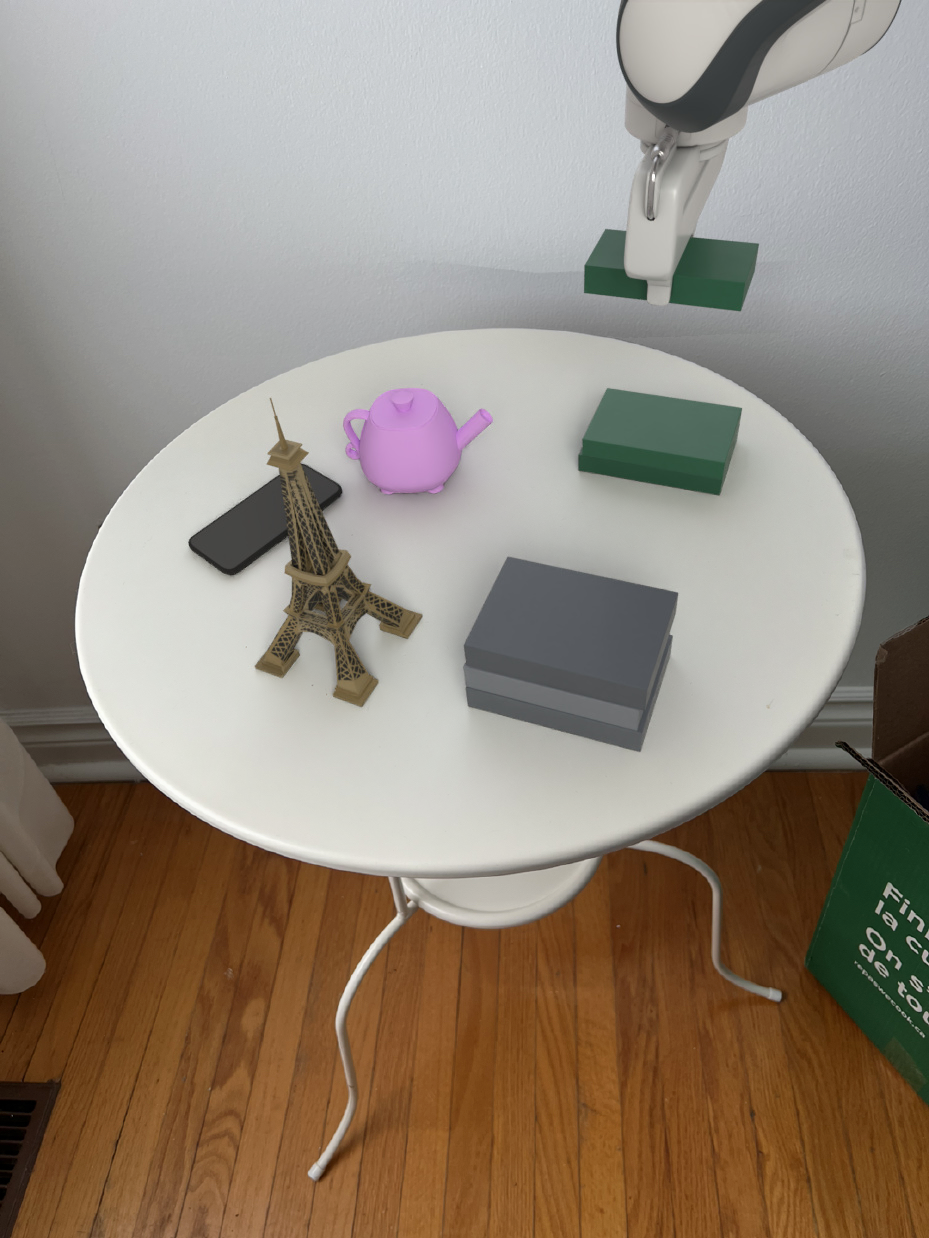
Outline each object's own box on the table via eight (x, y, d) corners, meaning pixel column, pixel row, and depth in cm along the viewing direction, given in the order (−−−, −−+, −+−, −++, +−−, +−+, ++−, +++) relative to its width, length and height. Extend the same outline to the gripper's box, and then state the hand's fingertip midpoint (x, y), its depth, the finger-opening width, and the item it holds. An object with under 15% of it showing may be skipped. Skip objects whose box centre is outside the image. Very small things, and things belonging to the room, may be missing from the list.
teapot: (357, 443, 98) (341, 367, 91) (498, 439, 96) (493, 361, 89) (343, 508, 91) (324, 431, 84) (494, 505, 89) (488, 426, 82)
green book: (754, 272, 78) (759, 243, 76) (740, 312, 74) (745, 282, 72) (604, 256, 81) (605, 228, 80) (583, 293, 77) (584, 265, 76)
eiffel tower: (422, 616, 80) (378, 369, 62) (362, 707, 74) (293, 463, 56) (321, 584, 84) (250, 342, 65) (255, 668, 78) (157, 427, 59)
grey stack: (670, 654, 75) (678, 591, 70) (640, 752, 69) (646, 692, 64) (509, 617, 80) (505, 555, 74) (467, 706, 74) (459, 646, 68)
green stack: (737, 439, 93) (742, 406, 90) (719, 495, 88) (725, 462, 85) (602, 418, 97) (603, 386, 94) (577, 470, 92) (578, 438, 89)
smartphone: (182, 541, 88) (298, 459, 95) (185, 548, 89) (300, 466, 96) (228, 574, 85) (346, 487, 91) (231, 581, 85) (348, 494, 92)
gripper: (701, 161, 60) (681, 349, 70) (754, 52, 72) (730, 225, 82) (606, 155, 62) (600, 338, 72) (674, 49, 74) (660, 219, 84)
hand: (670, 277), depth 77 cm, fingers closed on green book, 6 cm apart
